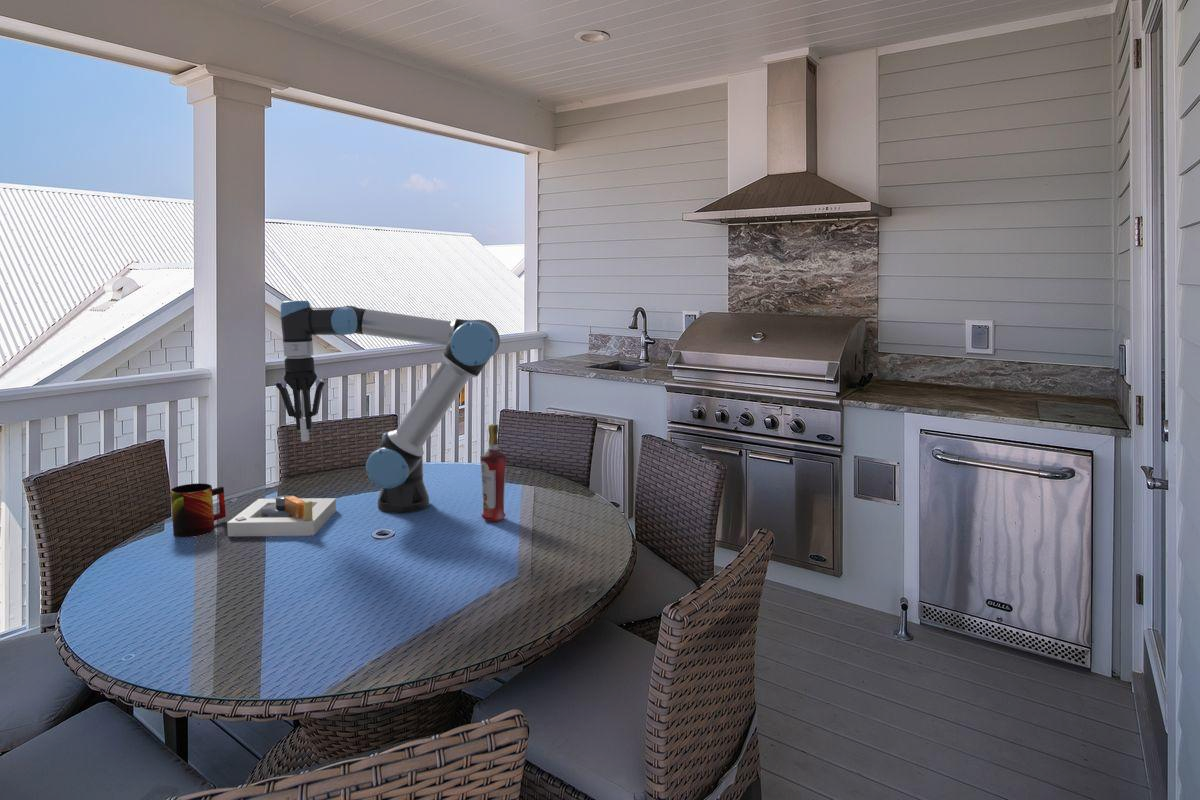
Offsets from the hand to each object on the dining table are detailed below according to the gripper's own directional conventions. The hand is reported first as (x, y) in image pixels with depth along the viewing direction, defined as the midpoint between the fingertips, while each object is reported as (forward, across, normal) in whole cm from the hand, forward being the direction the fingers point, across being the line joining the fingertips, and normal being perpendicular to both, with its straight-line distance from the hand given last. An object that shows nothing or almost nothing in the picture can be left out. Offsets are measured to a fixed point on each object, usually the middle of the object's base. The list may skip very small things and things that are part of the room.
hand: (305, 440), depth 201 cm
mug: (+22, -28, -5) cm, 36 cm away
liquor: (+25, +52, -5) cm, 57 cm away
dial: (+21, -5, -4) cm, 22 cm away
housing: (+23, -6, -2) cm, 24 cm away
